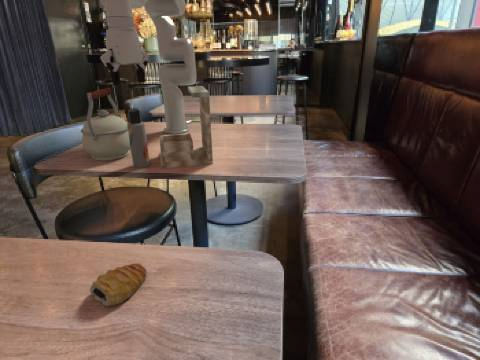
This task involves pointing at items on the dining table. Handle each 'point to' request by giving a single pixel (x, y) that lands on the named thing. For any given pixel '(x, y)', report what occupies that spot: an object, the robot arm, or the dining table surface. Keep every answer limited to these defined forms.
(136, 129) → the lotion bottle
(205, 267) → the dining table surface
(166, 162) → the bottle holder
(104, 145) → the kettle
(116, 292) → the pastry
